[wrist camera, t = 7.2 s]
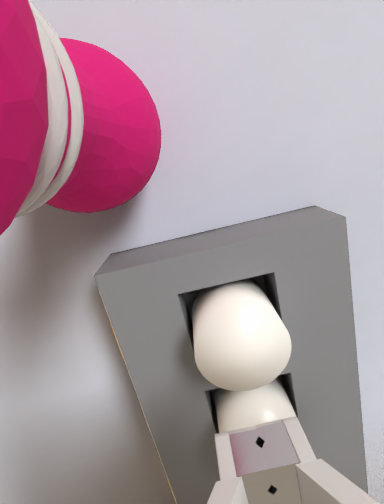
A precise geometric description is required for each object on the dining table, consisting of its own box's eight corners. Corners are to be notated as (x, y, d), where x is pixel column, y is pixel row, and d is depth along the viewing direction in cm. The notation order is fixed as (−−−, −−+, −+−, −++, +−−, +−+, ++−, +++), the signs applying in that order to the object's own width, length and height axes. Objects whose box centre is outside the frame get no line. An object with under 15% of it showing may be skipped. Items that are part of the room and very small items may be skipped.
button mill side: (262, 267, 18) (284, 297, 14) (274, 335, 20) (297, 380, 16) (183, 285, 19) (184, 320, 15) (201, 351, 20) (206, 399, 16)
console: (314, 205, 20) (345, 216, 16) (343, 464, 27) (369, 515, 23) (103, 255, 20) (84, 278, 16) (186, 495, 27) (186, 550, 24)
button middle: (278, 360, 20) (301, 408, 16) (288, 415, 22) (311, 472, 18) (207, 375, 21) (213, 427, 17) (222, 429, 22) (231, 488, 18)
